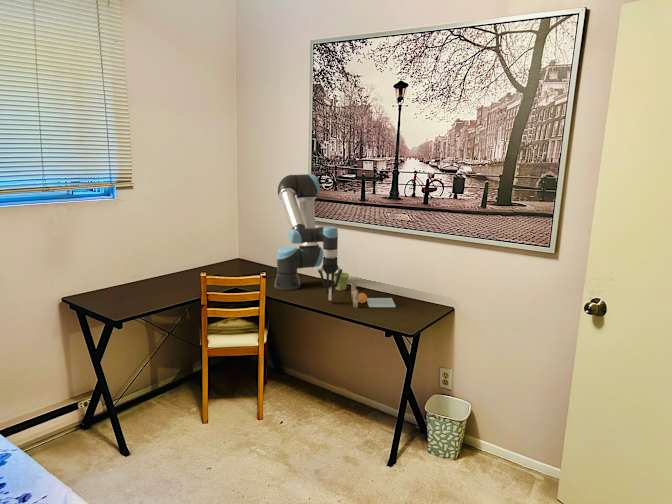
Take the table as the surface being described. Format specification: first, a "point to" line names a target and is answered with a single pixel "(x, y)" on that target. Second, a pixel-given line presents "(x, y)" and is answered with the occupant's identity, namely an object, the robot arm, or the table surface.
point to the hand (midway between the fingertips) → (330, 299)
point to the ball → (362, 298)
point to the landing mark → (380, 302)
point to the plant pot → (341, 281)
